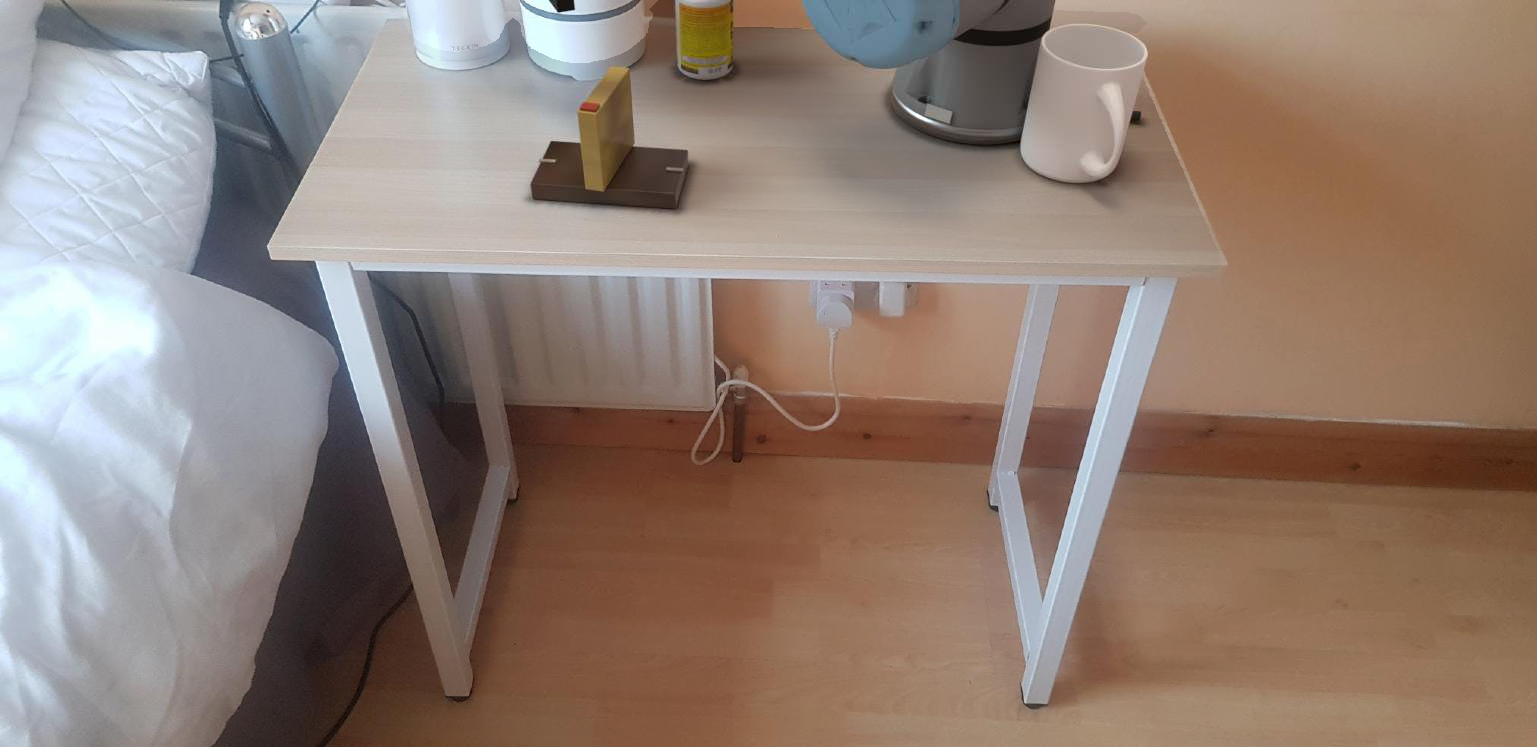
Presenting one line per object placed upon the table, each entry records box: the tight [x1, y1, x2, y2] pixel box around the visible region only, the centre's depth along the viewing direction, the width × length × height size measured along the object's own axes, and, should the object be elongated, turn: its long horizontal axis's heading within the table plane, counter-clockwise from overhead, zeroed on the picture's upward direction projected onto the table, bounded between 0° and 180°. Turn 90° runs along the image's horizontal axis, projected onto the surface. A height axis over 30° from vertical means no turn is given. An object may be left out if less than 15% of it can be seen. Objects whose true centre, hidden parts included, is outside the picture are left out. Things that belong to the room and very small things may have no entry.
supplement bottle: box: [674, 0, 734, 81], centre depth 104 cm, size 6×6×10 cm
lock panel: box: [530, 140, 689, 210], centre depth 91 cm, size 12×7×2 cm, turn 85°
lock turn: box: [576, 65, 636, 191], centre depth 88 cm, size 8×2×7 cm, turn 167°
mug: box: [1020, 23, 1149, 184], centre depth 91 cm, size 9×12×11 cm
